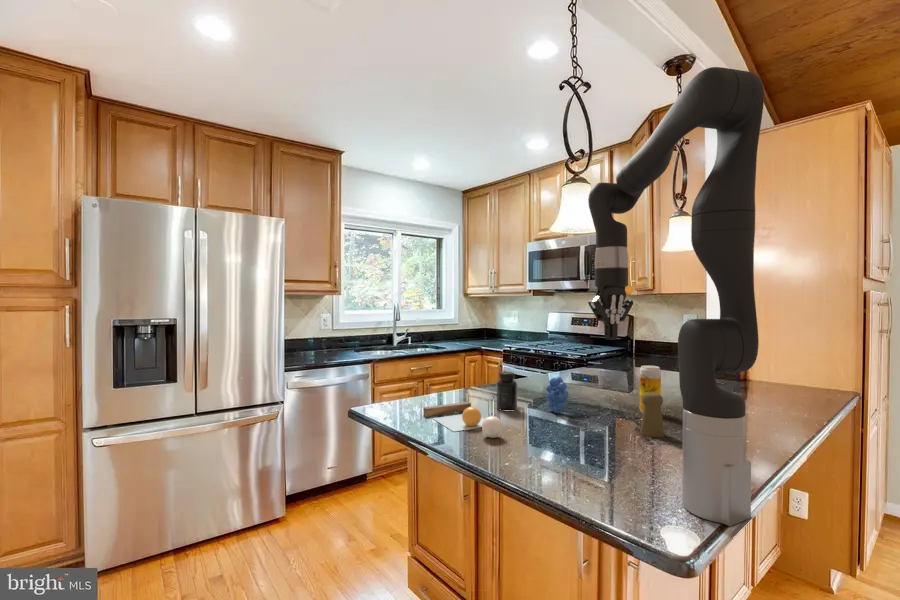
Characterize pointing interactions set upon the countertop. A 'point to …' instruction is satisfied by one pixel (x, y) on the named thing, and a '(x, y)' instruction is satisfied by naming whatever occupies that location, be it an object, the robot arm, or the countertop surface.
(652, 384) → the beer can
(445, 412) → the wooden stick
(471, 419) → the orange ball
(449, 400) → the countertop surface
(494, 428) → the cue ball
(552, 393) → the grapes
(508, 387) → the supplement bottle
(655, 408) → the olive tall flared piece
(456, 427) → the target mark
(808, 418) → the countertop surface
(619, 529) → the countertop surface
